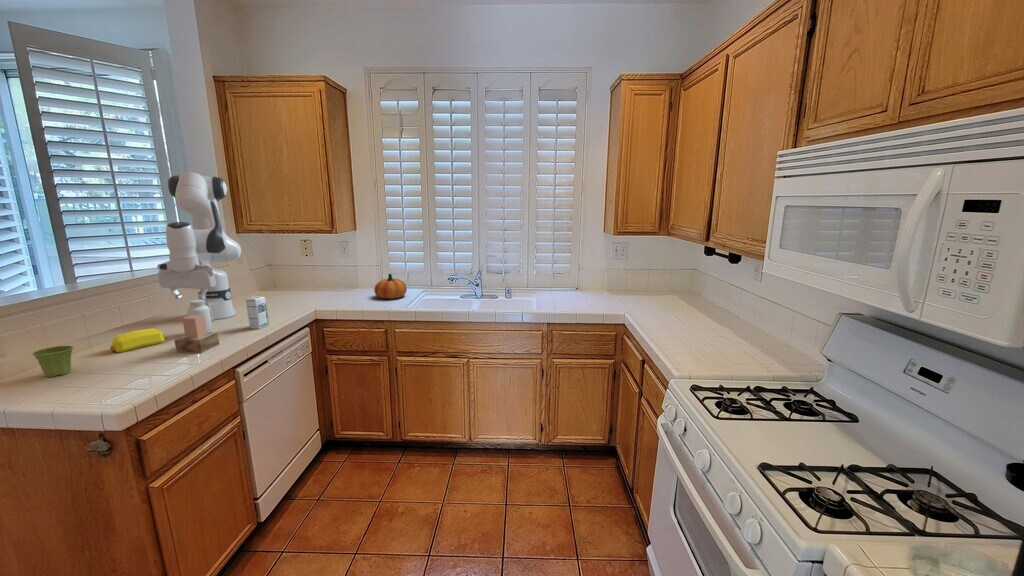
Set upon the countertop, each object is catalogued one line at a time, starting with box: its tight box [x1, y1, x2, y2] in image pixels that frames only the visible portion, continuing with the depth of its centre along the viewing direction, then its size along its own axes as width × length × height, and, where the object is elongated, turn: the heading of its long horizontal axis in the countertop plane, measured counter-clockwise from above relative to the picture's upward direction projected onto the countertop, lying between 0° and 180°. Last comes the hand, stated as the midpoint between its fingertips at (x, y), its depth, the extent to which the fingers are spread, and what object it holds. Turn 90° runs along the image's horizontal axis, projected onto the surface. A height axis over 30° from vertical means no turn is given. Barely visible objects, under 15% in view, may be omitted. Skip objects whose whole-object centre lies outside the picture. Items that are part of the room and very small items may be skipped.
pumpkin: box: [373, 273, 408, 300], centre depth 256 cm, size 19×19×15 cm
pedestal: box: [174, 332, 220, 354], centre depth 166 cm, size 10×10×5 cm
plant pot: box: [31, 345, 74, 378], centre depth 141 cm, size 9×9×9 cm
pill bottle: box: [186, 299, 213, 333], centre depth 184 cm, size 8×8×15 cm
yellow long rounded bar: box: [109, 327, 167, 353], centre depth 168 cm, size 18×7×8 cm
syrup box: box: [245, 295, 270, 330], centre depth 194 cm, size 6×6×14 cm
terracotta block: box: [182, 315, 207, 338], centre depth 165 cm, size 5×5×8 cm
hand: (190, 298), depth 163 cm, fingers open, 8 cm apart
